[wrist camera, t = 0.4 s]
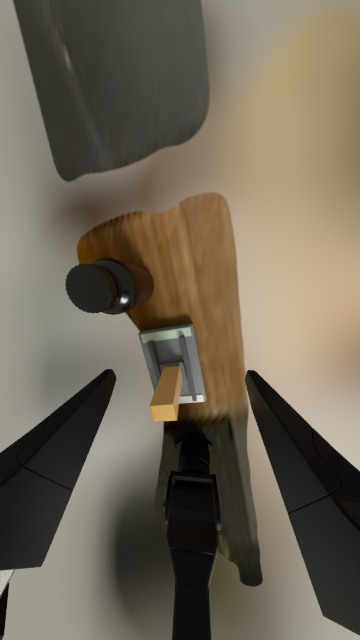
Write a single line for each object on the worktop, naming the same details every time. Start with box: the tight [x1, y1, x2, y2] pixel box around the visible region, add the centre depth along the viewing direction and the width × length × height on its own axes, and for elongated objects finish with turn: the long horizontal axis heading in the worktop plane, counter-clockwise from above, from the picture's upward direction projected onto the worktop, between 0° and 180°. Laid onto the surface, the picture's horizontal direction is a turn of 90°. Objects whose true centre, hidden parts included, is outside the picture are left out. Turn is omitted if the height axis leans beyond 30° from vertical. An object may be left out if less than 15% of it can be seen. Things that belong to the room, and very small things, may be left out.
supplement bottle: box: [65, 258, 154, 315], centre depth 19 cm, size 7×7×12 cm
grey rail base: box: [139, 323, 206, 404], centre depth 27 cm, size 16×10×3 cm, turn 11°
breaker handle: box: [150, 360, 187, 422], centre depth 22 cm, size 4×4×9 cm
